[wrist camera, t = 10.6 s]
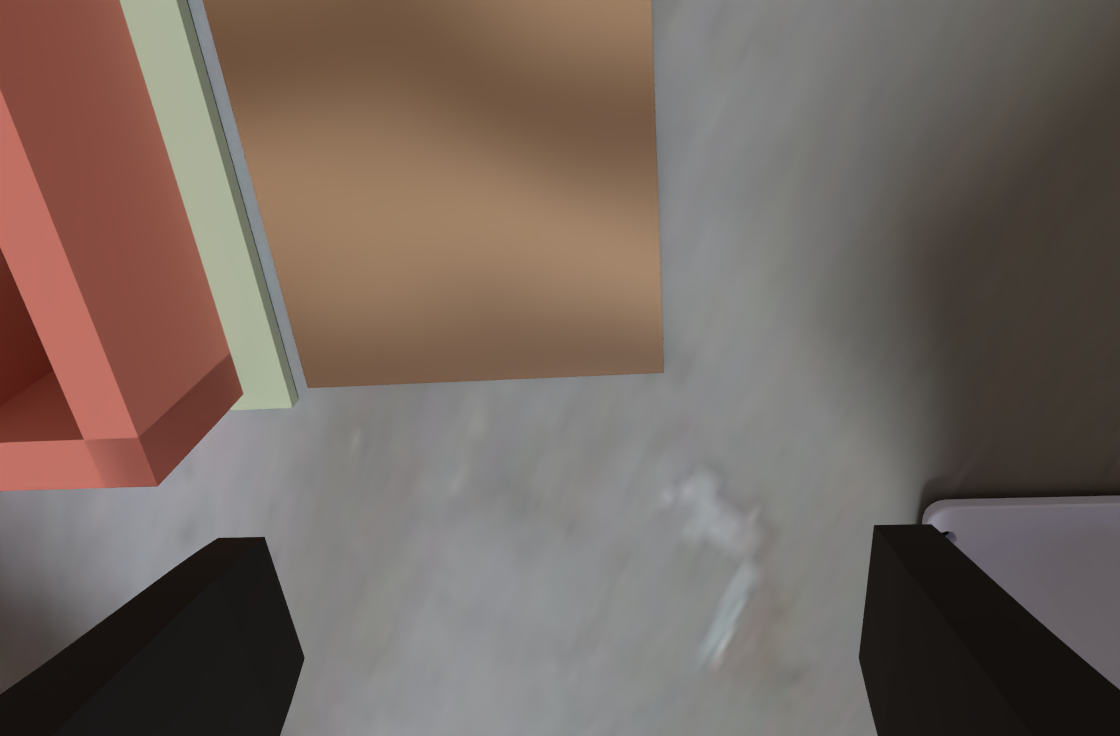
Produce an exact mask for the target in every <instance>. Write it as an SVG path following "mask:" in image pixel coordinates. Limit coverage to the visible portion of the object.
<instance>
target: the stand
mask: <svg viewBox="0 0 1120 736" xmlns="http://www.w3.org/2000/svg"><path fill="white" fill-rule="evenodd" d="M203 3H204V7H205V11H206V14H207V18H208V22H209V25H210V29H211V33H212V36H213V40H214V44H215V47H216V51H217V55H218V58H219V62H220V66H221V70H222V73H223V77H224V81H225V84H226V88H227V92H228V95H229V99H230V103H231V106H232V110H233V114H234V118H235V121H236V125H237V129H238V132H239V136H240V140H241V143H242V147H243V151H244V154H245V158H246V162H247V165H248V169H249V173H250V177H251V180H252V184H253V188H254V191H255V195H256V199H257V202H258V206H259V210H260V213H261V217H262V221H263V225H264V228H265V232H266V236H267V239H268V243H269V247H270V250H271V254H272V258H273V261H274V265H275V269H276V273H277V276H278V280H279V284H280V287H281V291H282V295H283V298H284V302H285V306H286V309H287V313H288V317H289V320H290V324H291V328H292V332H293V335H294V339H295V343H296V346H297V350H298V354H299V357H300V361H301V365H302V368H303V372H304V376H305V380H306V383H307V387H308V388H319V387H343V386H366V385H389V384H413V383H436V382H459V381H483V380H506V379H529V378H553V377H576V376H599V375H623V374H646V373H664V356H663V327H662V298H661V269H660V239H659V210H658V181H657V152H656V123H655V93H654V64H653V35H652V6H651V0H203Z"/></svg>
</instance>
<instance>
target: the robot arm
mask: <svg viewBox="0 0 1120 736" xmlns="http://www.w3.org/2000/svg"><path fill="white" fill-rule="evenodd" d="M946 531H949V534H947V535H946V536H944V535H943V534H942V533H941V532H946ZM859 661H860V665H861V669H862V673H863V678H864V682H865V686H866V690H867V694H868V699H869V703H870V707H871V711H872V715H873V719H874V723H875V727H876V730H877V734H878V736H1120V496H1077V497H1034V498H990V499H946V500H940V501H937V502H935V503H933V504H931V505H930V506H929V507H928V508H927V509H926V510H925V512H924V515H923V520H922V524H913V525H874V531H873V540H872V548H871V557H870V566H869V574H868V583H867V592H866V600H865V609H864V618H863V626H862V635H861V644H860V652H859ZM303 662H304V655H303V652H302V649H301V646H300V643H299V640H298V637H297V634H296V631H295V628H294V624H293V621H292V618H291V615H290V612H289V609H288V606H287V603H286V600H285V597H284V594H283V591H282V588H281V585H280V582H279V579H278V576H277V573H276V570H275V567H274V564H273V561H272V558H271V555H270V552H269V549H268V546H267V543H266V540H265V537H244V538H217V539H216V540H214V541H213V542H211V543H210V544H208V545H206V546H205V547H203V548H202V549H200V550H199V551H197V552H196V553H194V554H193V555H192V556H190V557H189V558H187V559H186V560H185V561H183V562H182V563H180V564H179V565H178V566H176V567H175V568H173V569H172V570H171V571H169V572H168V573H167V574H165V575H164V576H162V577H161V578H160V579H158V580H157V581H156V582H154V583H153V584H152V585H150V586H149V587H148V588H146V589H145V590H143V591H142V592H141V593H139V594H138V595H137V596H135V597H134V598H133V599H131V600H130V601H129V602H127V603H126V604H125V605H123V606H122V607H121V608H119V609H118V610H117V611H115V612H114V613H113V614H111V615H110V616H108V617H107V618H106V619H104V620H103V621H102V622H100V623H99V624H98V625H96V626H95V627H94V628H92V629H91V630H90V631H88V632H87V633H85V634H84V635H83V636H81V637H80V638H79V639H77V640H76V641H75V642H73V643H72V644H71V645H69V646H68V647H66V648H65V649H64V650H62V651H61V652H60V653H58V654H57V655H56V656H54V657H53V658H52V659H50V660H49V661H47V662H46V663H45V664H43V665H42V666H41V667H39V668H38V669H36V670H35V671H33V672H32V673H31V674H29V675H28V676H26V677H25V678H23V679H22V680H20V681H19V682H18V683H16V684H15V685H13V686H12V687H10V688H9V689H8V690H6V691H5V692H3V693H2V694H0V736H280V734H281V731H282V728H283V725H284V722H285V719H286V716H287V713H288V710H289V707H290V704H291V701H292V698H293V695H294V691H295V688H296V685H297V682H298V678H299V675H300V672H301V668H302V665H303Z"/></svg>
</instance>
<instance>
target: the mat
mask: <svg viewBox="0 0 1120 736" xmlns="http://www.w3.org/2000/svg"><path fill="white" fill-rule="evenodd" d="M120 3H121V7H122V10H123V13H124V16H125V19H126V22H127V26H128V29H129V32H130V35H131V38H132V42H133V45H134V48H135V51H136V54H137V57H138V61H139V64H140V67H141V70H142V73H143V76H144V80H145V83H146V86H147V89H148V92H149V95H150V99H151V102H152V105H153V108H154V111H155V115H156V118H157V121H158V124H159V127H160V130H161V134H162V137H163V140H164V143H165V146H166V149H167V153H168V156H169V159H170V162H171V165H172V169H173V172H174V175H175V178H176V181H177V184H178V188H179V191H180V194H181V197H182V200H183V203H184V207H185V210H186V213H187V216H188V219H189V222H190V226H191V229H192V232H193V235H194V238H195V242H196V245H197V248H198V251H199V254H200V257H201V261H202V264H203V267H204V270H205V273H206V276H207V280H208V283H209V286H210V289H211V292H212V295H213V299H214V302H215V305H216V308H217V311H218V315H219V318H220V321H221V324H222V327H223V330H224V334H225V337H226V340H227V343H228V346H229V349H230V353H231V356H232V359H233V362H234V365H235V369H236V372H237V375H238V378H239V381H240V384H241V388H242V391H243V395H242V396H241V398H240V399H239V400H238V401H237V402H236V403H235V404H234V405H233V406H232V407H231V408H230V409H229V410H248V409H273V408H293V406H294V405H295V404H296V403H297V401H298V397H297V393H296V390H295V386H294V382H293V379H292V375H291V372H290V368H289V365H288V361H287V357H286V354H285V350H284V347H283V343H282V340H281V336H280V332H279V329H278V325H277V322H276V318H275V314H274V311H273V307H272V304H271V300H270V297H269V293H268V289H267V286H266V282H265V279H264V275H263V272H262V268H261V264H260V261H259V257H258V254H257V250H256V247H255V243H254V239H253V236H252V232H251V229H250V225H249V221H248V218H247V214H246V211H245V207H244V204H243V200H242V196H241V193H240V189H239V186H238V182H237V179H236V175H235V171H234V168H233V164H232V161H231V157H230V153H229V150H228V146H227V143H226V139H225V136H224V132H223V128H222V125H221V121H220V118H219V114H218V111H217V107H216V103H215V100H214V96H213V93H212V89H211V85H210V82H209V78H208V75H207V71H206V68H205V64H204V60H203V57H202V53H201V50H200V46H199V43H198V39H197V35H196V32H195V28H194V25H193V21H192V17H191V14H190V10H189V7H188V3H187V0H120Z"/></svg>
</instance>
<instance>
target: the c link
mask: <svg viewBox="0 0 1120 736" xmlns="http://www.w3.org/2000/svg"><path fill="white" fill-rule="evenodd" d="M242 395H243V391H242V388H241V384H240V381H239V378H238V375H237V372H236V369H235V365H234V362H233V359H232V356H231V353H230V349H229V346H228V343H227V340H226V337H225V334H224V330H223V327H222V324H221V321H220V318H219V315H218V311H217V308H216V305H215V302H214V299H213V295H212V292H211V289H210V286H209V283H208V280H207V276H206V273H205V270H204V267H203V264H202V261H201V257H200V254H199V251H198V248H197V245H196V242H195V238H194V235H193V232H192V229H191V226H190V222H189V219H188V216H187V213H186V210H185V207H184V203H183V200H182V197H181V194H180V191H179V188H178V184H177V181H176V178H175V175H174V172H173V169H172V165H171V162H170V159H169V156H168V153H167V149H166V146H165V143H164V140H163V137H162V134H161V130H160V127H159V124H158V121H157V118H156V115H155V111H154V108H153V105H152V102H151V99H150V95H149V92H148V89H147V86H146V83H145V80H144V76H143V73H142V70H141V67H140V64H139V61H138V57H137V54H136V51H135V48H134V45H133V42H132V38H131V35H130V32H129V29H128V26H127V22H126V19H125V16H124V13H123V10H122V7H121V3H120V0H0V491H9V490H45V489H80V488H116V487H152V486H158V485H159V484H160V483H161V482H162V481H163V480H164V479H165V478H166V477H167V476H168V475H169V474H170V473H171V472H172V470H173V469H174V468H175V467H176V466H177V465H178V464H179V463H180V462H181V461H182V460H183V459H184V458H185V457H186V455H187V454H188V453H189V452H190V451H191V450H192V449H193V448H194V447H195V446H196V445H197V444H198V443H199V442H200V440H201V439H202V438H203V437H204V436H205V435H206V434H207V433H208V432H209V431H210V430H211V429H212V428H213V427H214V425H215V424H216V423H217V422H218V421H219V420H220V419H221V418H222V417H223V416H224V415H225V414H226V413H227V411H228V410H229V409H230V408H231V407H232V406H233V405H234V404H235V403H236V402H237V401H238V400H239V399H240V398H241V396H242Z"/></svg>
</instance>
